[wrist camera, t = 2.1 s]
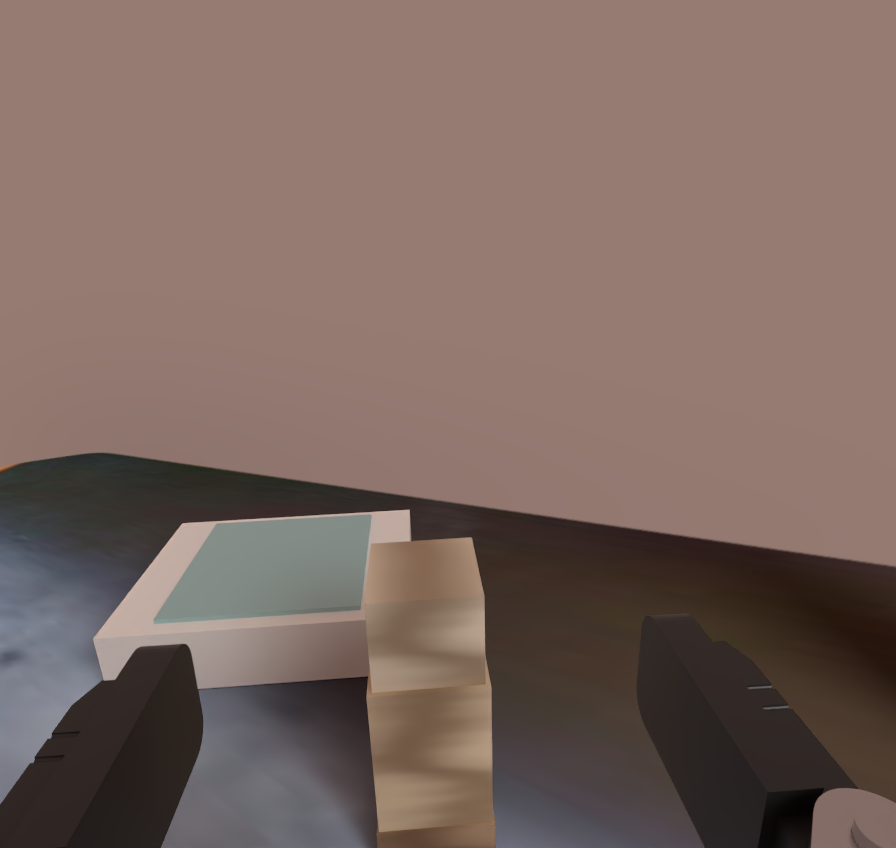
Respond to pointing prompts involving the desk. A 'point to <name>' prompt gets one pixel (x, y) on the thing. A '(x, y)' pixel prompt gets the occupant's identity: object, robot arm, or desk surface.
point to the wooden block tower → (429, 696)
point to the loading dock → (257, 599)
